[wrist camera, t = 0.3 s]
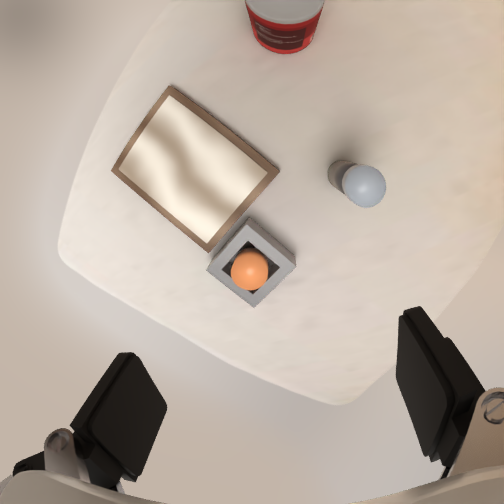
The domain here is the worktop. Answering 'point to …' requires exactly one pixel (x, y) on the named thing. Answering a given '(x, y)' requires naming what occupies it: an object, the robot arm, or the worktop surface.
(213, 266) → the button housing
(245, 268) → the button
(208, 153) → the board
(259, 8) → the canned food
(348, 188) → the grey tall cylinder
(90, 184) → the worktop surface
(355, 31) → the worktop surface
